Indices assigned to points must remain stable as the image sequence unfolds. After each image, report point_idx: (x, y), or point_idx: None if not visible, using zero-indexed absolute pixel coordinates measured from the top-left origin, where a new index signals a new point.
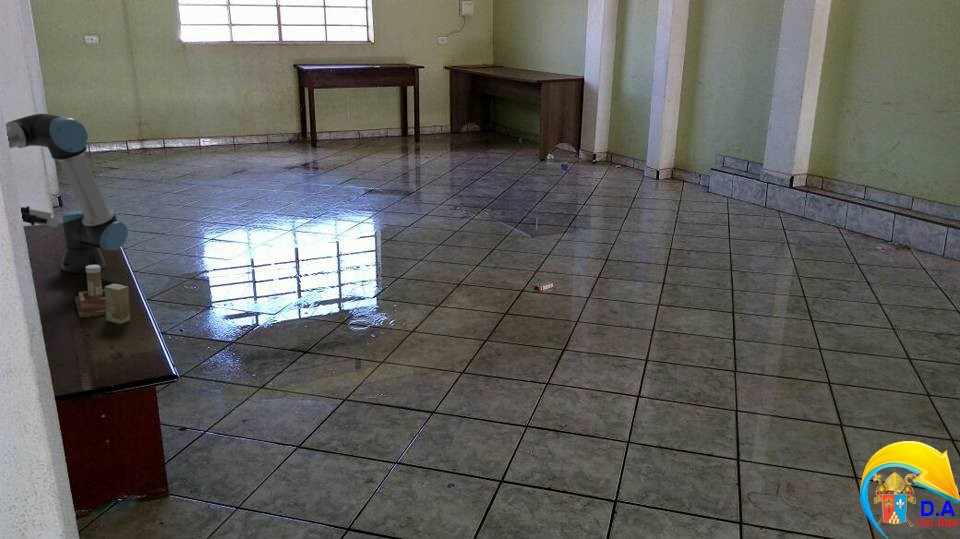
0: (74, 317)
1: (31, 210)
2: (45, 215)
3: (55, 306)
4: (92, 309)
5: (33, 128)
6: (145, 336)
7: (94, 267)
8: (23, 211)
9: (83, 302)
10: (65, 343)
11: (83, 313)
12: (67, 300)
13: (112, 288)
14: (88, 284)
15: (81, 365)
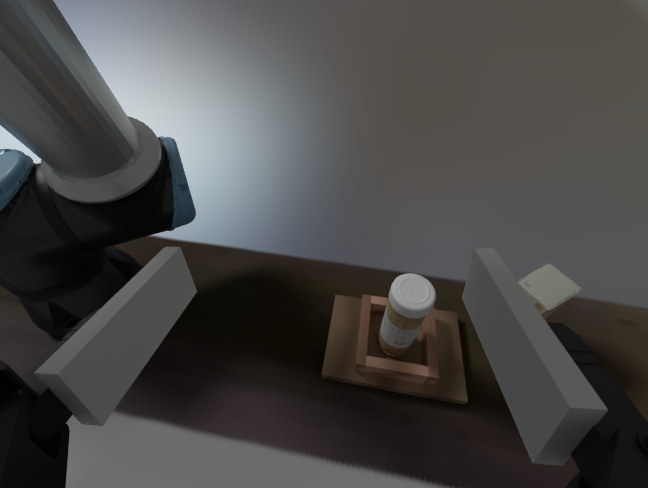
0: (452, 416)
1: (73, 368)
2: (168, 290)
3: (341, 439)
4: (439, 362)
5: None
6: (612, 314)
7: (429, 289)
8: (30, 474)
9: (437, 374)
10: None
11: (466, 391)
12: (307, 394)
13: (565, 297)
14: (411, 334)
15: None
